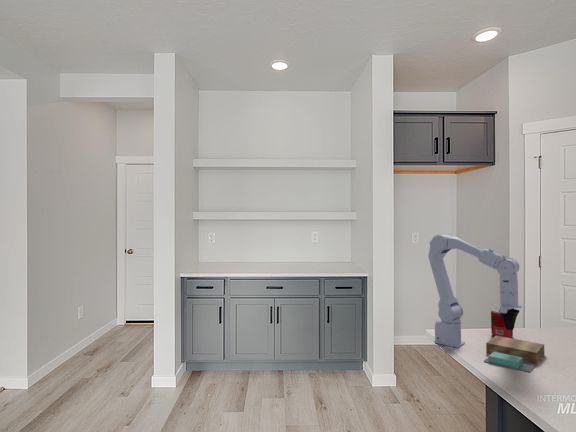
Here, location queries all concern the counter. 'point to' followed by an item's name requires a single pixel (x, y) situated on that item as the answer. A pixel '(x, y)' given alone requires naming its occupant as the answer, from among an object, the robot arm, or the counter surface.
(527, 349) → the board
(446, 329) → the robot arm
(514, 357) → the teal rectangular block
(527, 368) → the mat
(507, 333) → the canned food
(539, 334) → the counter surface
